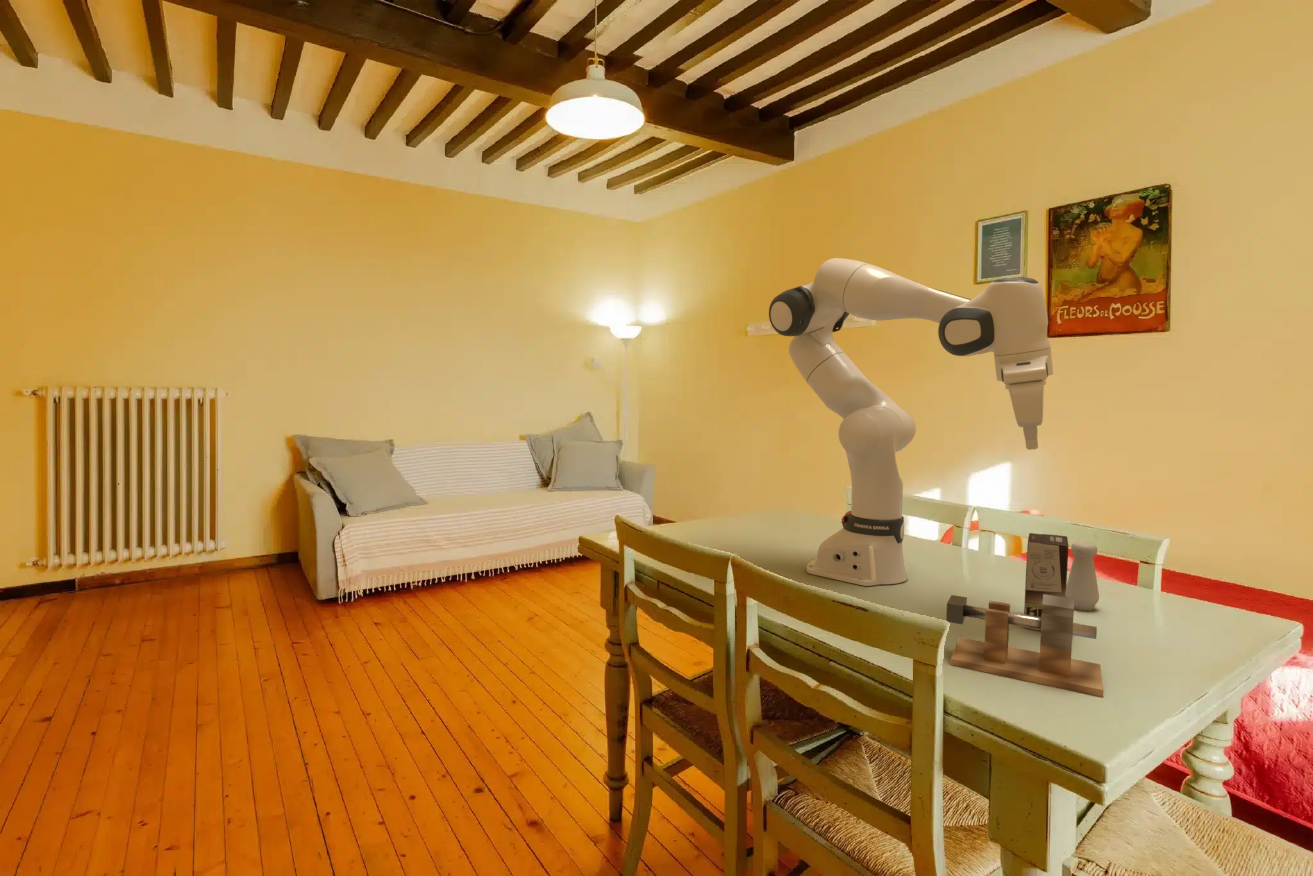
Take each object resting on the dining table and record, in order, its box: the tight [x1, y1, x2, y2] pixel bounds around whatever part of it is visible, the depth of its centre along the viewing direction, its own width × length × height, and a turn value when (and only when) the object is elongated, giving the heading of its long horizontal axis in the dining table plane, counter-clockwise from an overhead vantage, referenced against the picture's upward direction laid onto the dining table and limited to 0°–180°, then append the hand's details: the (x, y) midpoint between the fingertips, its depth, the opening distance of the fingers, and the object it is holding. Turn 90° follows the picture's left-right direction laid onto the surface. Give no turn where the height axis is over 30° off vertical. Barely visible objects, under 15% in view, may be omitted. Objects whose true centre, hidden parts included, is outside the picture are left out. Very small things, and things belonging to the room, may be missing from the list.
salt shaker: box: [1066, 541, 1100, 612], centre depth 128 cm, size 6×6×13 cm
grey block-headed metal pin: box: [945, 594, 1098, 640], centre depth 102 cm, size 20×5×3 cm, turn 58°
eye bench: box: [950, 594, 1104, 698], centre depth 102 cm, size 20×10×11 cm, turn 58°
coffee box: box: [1023, 532, 1070, 632], centre depth 120 cm, size 9×6×16 cm
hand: (1031, 444), depth 117 cm, fingers open, 8 cm apart
